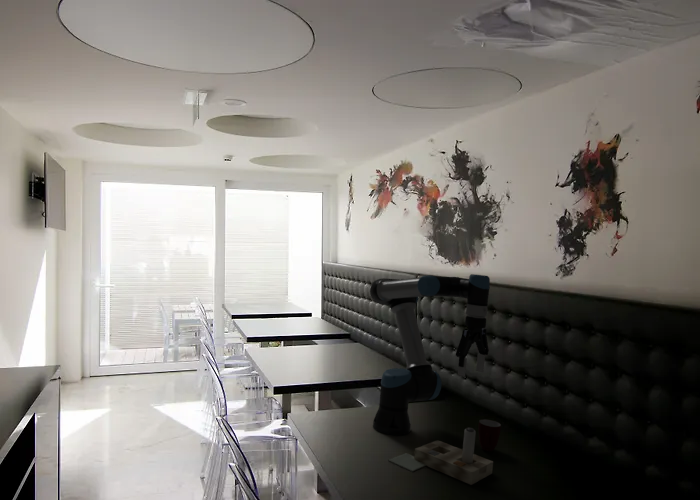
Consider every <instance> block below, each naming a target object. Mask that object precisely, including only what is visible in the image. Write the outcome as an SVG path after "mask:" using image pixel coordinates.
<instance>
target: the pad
mask: <svg viewBox="0 0 700 500" xmlns="http://www.w3.org/2000/svg"><path fill="white" fill-rule="evenodd" d="M414 456H415V455H411V454H410V453H407V452H405V453H402V454H399V455H397V456H395V457H391V458H389V459H387V461H388V462H390V463H392V464H393V465H397V466H399V467H400V468H402V469H403V468H404V469H405V470H408V471H410V472H412V473H413V472H415V471H417V470H419V469H422V468H424V467H427V466H426V464H424V463H422V462H419V461H417V460H415V459H414Z"/></svg>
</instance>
